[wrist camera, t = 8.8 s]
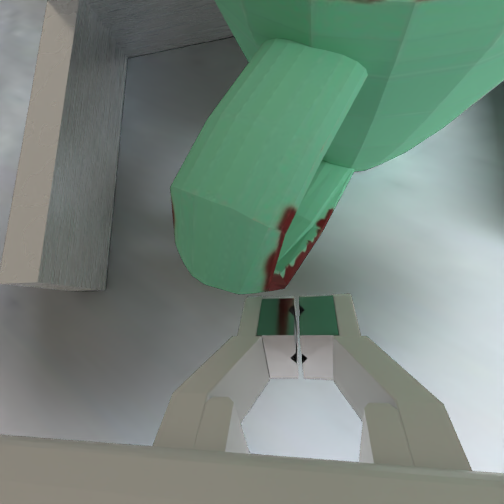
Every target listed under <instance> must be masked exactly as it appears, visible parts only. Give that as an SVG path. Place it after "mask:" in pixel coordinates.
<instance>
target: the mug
mask: <svg viewBox="0 0 504 504" xmlns="http://www.w3.org/2000/svg"><path fill="white" fill-rule="evenodd" d="M214 1H215V2H216V4H217V6H218V8H219V10H220V12H221V13H222V15H223V17H224V19H225V21H226V23H227V24H228V26H229V28H230V30H231V32H232V33H233V35H234V37H235V39H236V41H237V42H238V44H239V46H240V48H241V50H242V51H243V53H244V55H245V57H246V59H247V60H248V62H249V63H248V64H247V66H246V67H245V68H244V70H243V71H242V72H241V74H240V75H239V77H238V78H237V79H236V81H235V82H234V83H233V85H232V86H231V87H230V89H229V90H228V92H227V93H226V94H225V96H224V97H223V98H222V100H221V101H220V102H219V104H218V105H217V106H216V108H215V109H214V111H213V112H212V113H211V115H210V116H209V117H208V119H207V121H206V122H205V124H204V126H203V128H202V130H201V132H200V133H199V135H198V137H197V139H196V141H195V143H194V144H193V146H192V148H191V150H190V152H189V154H188V155H187V157H186V159H185V161H184V163H183V165H182V166H181V168H180V170H179V172H178V174H177V176H176V177H175V179H174V181H173V183H172V185H171V187H170V191H171V202H172V213H173V224H174V235H175V243H176V246H177V249H178V252H179V254H180V256H181V259H182V261H183V263H184V264H185V266H186V267H187V269H188V271H189V272H190V274H191V275H192V276H193V277H195V278H196V279H197V280H199V281H200V282H202V283H203V284H205V285H208V286H211V287H215V288H218V289H222V290H225V291H228V292H232V293H235V294H252V293H260V292H268V291H274V290H279V289H285V287H286V286H287V285H288V284H289V282H290V281H291V279H292V278H293V276H294V274H295V273H296V271H297V270H298V268H299V267H300V265H301V264H302V262H303V261H304V259H305V258H306V256H307V255H308V253H309V252H310V250H311V249H312V247H313V245H314V244H315V242H316V241H317V239H318V238H319V236H320V235H321V233H322V232H323V230H324V228H325V226H326V224H327V222H328V220H329V218H330V216H331V215H332V213H333V211H334V209H335V207H336V205H337V203H338V201H339V199H340V197H341V195H342V194H343V192H344V190H345V188H346V186H347V184H348V182H349V180H350V178H351V176H352V175H353V173H354V172H356V171H365V170H367V169H370V168H373V167H375V166H378V165H380V164H382V163H384V162H386V161H389V160H391V159H393V158H395V157H397V156H399V155H401V154H403V153H405V152H407V151H408V150H410V149H412V148H413V147H415V146H416V145H418V144H419V143H421V142H422V141H424V140H425V139H427V138H428V137H430V136H431V135H433V134H434V133H436V132H438V131H439V130H441V129H442V128H444V127H445V126H446V125H447V124H449V123H450V122H451V121H453V120H454V119H455V118H457V117H458V116H459V115H460V114H462V113H463V112H464V111H466V110H467V109H468V108H470V107H471V106H472V105H473V104H475V103H476V102H477V101H479V100H480V99H481V98H482V97H484V96H485V95H486V94H487V93H489V92H490V91H491V90H493V89H494V88H495V87H496V86H498V85H499V84H500V83H502V82H503V81H504V0H214Z"/></svg>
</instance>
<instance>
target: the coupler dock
mask: <svg viewBox="0 0 504 504" xmlns="http://www.w3.org/2000/svg"><path fill="white" fill-rule="evenodd" d="M232 36H234V35H233V33H232V32H231V30H230V28H229V26H228V24H227V23H226V21H225V19H224V17H223V15H222V13H221V12H220V10H219V8H218V6H217V4H216V2H215V1H214V0H47V6H46V12H45V18H44V23H43V29H42V35H41V40H40V46H39V52H38V57H37V63H36V69H35V74H34V80H33V86H32V91H31V97H30V103H29V108H28V114H27V120H26V126H25V131H24V137H23V143H22V148H21V154H20V160H19V165H18V171H17V177H16V182H15V188H14V194H13V199H12V205H11V211H10V216H9V222H8V228H7V233H6V239H5V245H4V251H3V256H2V262H1V268H0V284H4V285H14V286H25V287H35V288H46V289H56V290H66V291H94V290H105V288H106V278H107V267H108V257H109V247H110V236H111V226H112V215H113V205H114V194H115V184H116V174H117V163H118V153H119V142H120V132H121V122H122V111H123V101H124V90H125V80H126V69H127V59H128V58H130V57H135V56H140V55H145V54H149V53H154V52H159V51H164V50H169V49H174V48H179V47H183V46H188V45H193V44H198V43H203V42H208V41H213V40H217V39H222V38H227V37H232Z"/></svg>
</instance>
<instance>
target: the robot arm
mask: <svg viewBox="0 0 504 504" xmlns="http://www.w3.org/2000/svg"><path fill="white" fill-rule="evenodd" d="M299 309H300V316H299V328H300V346H301V353H302V367H303V376H304V379H322V380H334V383H335V384H336V386H337V387H338V388H339V390H340V391H341V393H342V394H343V395H344V397H345V398H346V400H347V401H348V402H349V404H350V405H351V407H352V408H353V409H354V411H355V412H356V414H357V415H358V416H359V418H360V419H361V421H362V422H363V424H362V434H361V444H360V454H359V462H351V461H338V460H325V459H313V458H299V457H286V456H273V455H260V454H250V452H249V449H248V445H247V442H246V439H245V436H244V433H243V430H242V427H241V422H242V421H243V419H244V418H245V416H246V415H247V413H248V412H249V410H250V409H251V407H252V406H253V404H254V403H255V401H256V400H257V398H258V397H259V396H260V394H261V393H262V391H263V390H264V388H265V387H266V385H267V384H268V382H269V381H270V378H298V349H297V347H298V323H297V316H296V302H295V296H263V297H262V296H251V297H247V298H246V299H245V303H244V308H243V312H242V317H241V321H240V326H239V330H238V335H237V336H232V337H231V338H230V339H229V340H228V341H227V342H226V343H225V344H224V345H223V346H222V347H221V348H220V349H219V350H217V351H216V352H215V353H214V354H213V355H212V356H211V357H210V358H209V359H208V360H207V361H206V362H205V363H204V364H203V365H202V366H201V367H200V368H199V369H198V370H196V371H195V372H194V373H193V374H192V375H191V376H190V377H189V378H188V379H187V380H186V381H185V382H184V383H183V384H182V385H181V386H180V387H179V388H178V389H177V390H175V391H174V392H173V394H172V396H171V399H170V402H169V404H168V407H167V409H166V412H165V415H164V417H163V420H162V422H161V425H160V428H159V430H158V433H157V436H156V438H155V441H154V443H153V446H143V445H130V444H117V443H104V442H91V441H78V440H65V439H52V438H39V437H26V436H13V435H0V504H504V473H492V472H480V471H472V469H471V467H470V464H469V462H468V460H467V457H466V455H465V453H464V450H463V448H462V446H461V444H460V441H459V439H458V437H457V434H456V432H455V430H454V427H453V425H452V423H451V420H450V418H449V416H448V413H447V411H446V409H445V406H444V404H443V403H442V402H440V401H439V400H438V399H437V398H436V397H435V396H434V395H433V394H431V393H430V392H429V391H428V390H427V389H426V388H425V387H424V386H422V385H421V384H420V383H419V382H418V381H417V380H416V379H415V378H413V377H412V376H411V375H410V374H409V373H408V372H407V371H406V370H404V369H403V368H402V367H401V366H400V365H399V364H398V363H397V362H395V361H394V360H393V359H392V358H391V357H390V356H389V355H388V354H386V353H385V352H384V351H383V350H382V349H381V348H380V347H379V346H377V345H376V344H375V343H374V342H373V341H372V340H371V339H370V338H368V337H367V336H361V333H360V329H359V325H358V321H357V317H356V312H355V308H354V304H353V300H352V296H351V295H350V294H333V295H308V296H299Z"/></svg>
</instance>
